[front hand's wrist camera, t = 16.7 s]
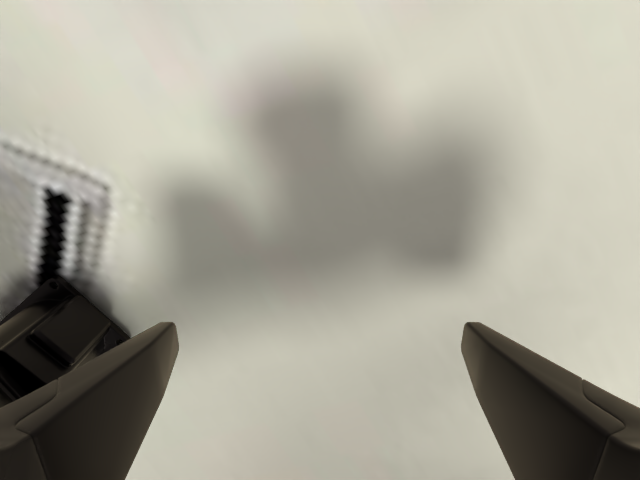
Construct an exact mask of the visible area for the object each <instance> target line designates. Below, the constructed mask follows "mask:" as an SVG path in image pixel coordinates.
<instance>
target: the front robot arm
mask: <svg viewBox="0 0 640 480" xmlns="http://www.w3.org/2000/svg"><path fill="white" fill-rule="evenodd" d="M54 282H55V283H57V285H58V286H56V285H55V284H54ZM120 340H122V341H123V342H121V341H120ZM178 350H179V343H178V336H177V330H176V325H175V324H174V323H173V322H161V323H158V324H157V325H155V326H153V327H151V328H149V329H147V330H146V331H144V332H142V333H140V334H138V335H136V336H135V337H133V338H131V339H130V338H129V336H128V335H127V334H126V333H124V332H123V331H122V330H121V329H120V328H119V327H118V326H116V325H115V324H114V323H113V322H112V321H111V320H110V319H108V318H107V317H106V316H105V315H104V314H103V313H102V312H101V311H99V310H98V309H97V308H96V307H95V306H94V305H93V304H91V303H90V302H89V301H88V300H87V299H86V298H85V297H83V296H82V295H81V294H80V293H79V292H78V291H77V290H76V289H74V288H73V287H72V286H71V285H70V284H69V283H68V282H66V281H65V280H64V279H63V278H61V277H59V276H53V277H51V278H50V279H48V280H47V281H46V282H45V283H44V284H43V285H41V286H40V287H39V288H38V289H37V290H36V291H35V292H33V293H32V294H31V295H30V296H29V297H28V298H27V299H26V300H24V301H23V302H22V303H21V304H20V305H19V306H18V307H16V308H15V309H14V310H13V311H12V312H11V313H10V314H9V315H7V316H6V317H5V318H4V319H3V320H2V321H1V322H0V480H125V478H126V476H127V474H128V472H129V470H130V467H131V465H132V463H133V461H134V459H135V457H136V455H137V452H138V450H139V448H140V446H141V444H142V442H143V439H144V437H145V435H146V433H147V431H148V429H149V427H150V424H151V422H152V420H153V418H154V416H155V414H156V411H157V409H158V407H159V405H160V403H161V400H162V398H163V396H164V393H165V390H166V388H167V385H168V381H169V378H170V375H171V372H172V369H173V366H174V363H175V360H176V357H177V354H178ZM461 350H462V354H463V357H464V360H465V363H466V366H467V369H468V372H469V375H470V378H471V381H472V384H473V388H474V390H475V393H476V396H477V398H478V400H479V403H480V405H481V407H482V409H483V411H484V414H485V416H486V418H487V420H488V422H489V424H490V427H491V429H492V431H493V433H494V435H495V437H496V439H497V442H498V444H499V446H500V448H501V450H502V452H503V455H504V457H505V459H506V461H507V463H508V465H509V467H510V470H511V472H512V474H513V476H514V478H515V480H640V408H639V407H636V406H634V405H632V404H630V403H628V402H626V401H624V400H622V399H620V398H618V397H616V396H614V395H612V394H611V393H609V392H607V391H605V390H603V389H601V388H599V387H597V386H595V385H594V384H592V383H590V382H588V381H586V380H582V378H581V377H579V376H577V375H575V374H573V373H571V372H570V371H568V370H566V369H564V368H562V367H560V366H559V365H557V364H555V363H553V362H551V361H549V360H548V359H546V358H544V357H542V356H540V355H538V354H537V353H535V352H533V351H531V350H529V349H527V348H526V347H524V346H522V345H520V344H518V343H516V342H515V341H513V340H511V339H509V338H507V337H505V336H504V335H502V334H500V333H498V332H496V331H494V330H493V329H491V328H489V327H487V326H485V325H483V324H482V323H479V322H467V323H466V324H465V325H464V330H463V336H462V343H461Z"/></svg>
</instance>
